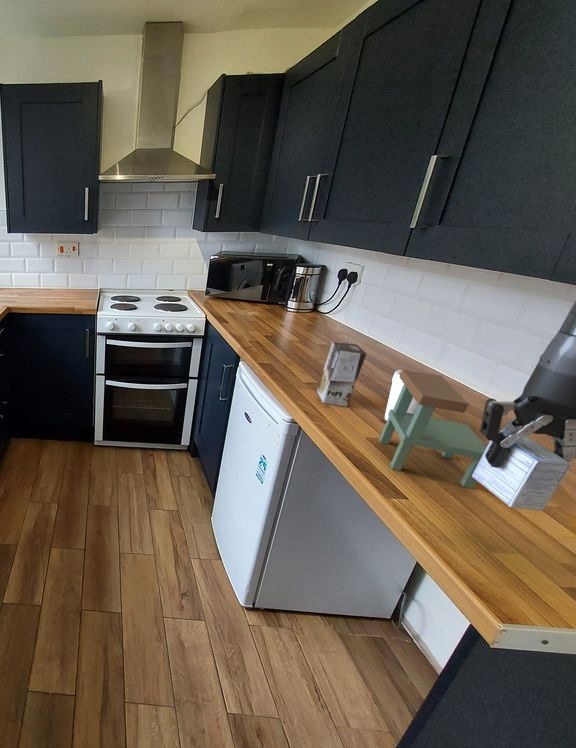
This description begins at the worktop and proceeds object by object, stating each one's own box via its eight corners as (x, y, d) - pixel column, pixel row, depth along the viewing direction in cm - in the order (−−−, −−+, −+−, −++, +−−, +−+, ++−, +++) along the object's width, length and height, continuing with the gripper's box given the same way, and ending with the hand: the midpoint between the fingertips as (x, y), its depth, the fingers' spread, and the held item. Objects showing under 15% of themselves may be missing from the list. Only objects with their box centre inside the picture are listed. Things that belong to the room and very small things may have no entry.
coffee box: (347, 407, 113) (367, 353, 107) (322, 403, 115) (340, 350, 108) (339, 394, 121) (357, 344, 114) (315, 390, 123) (332, 340, 116)
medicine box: (543, 512, 59) (575, 464, 56) (508, 508, 60) (538, 460, 56) (500, 479, 66) (526, 435, 63) (469, 476, 67) (493, 431, 63)
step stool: (449, 453, 93) (485, 382, 86) (476, 492, 80) (522, 413, 72) (374, 436, 99) (402, 369, 91) (388, 471, 86) (422, 395, 78)
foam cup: (423, 434, 100) (445, 387, 95) (378, 423, 105) (397, 378, 100) (418, 419, 108) (438, 375, 102) (376, 410, 112) (394, 367, 107)
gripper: (521, 367, 54) (466, 470, 61) (681, 389, 48) (600, 500, 55) (497, 351, 60) (449, 446, 67) (636, 369, 55) (569, 471, 62)
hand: (518, 470), depth 61 cm, fingers closed on medicine box, 5 cm apart
